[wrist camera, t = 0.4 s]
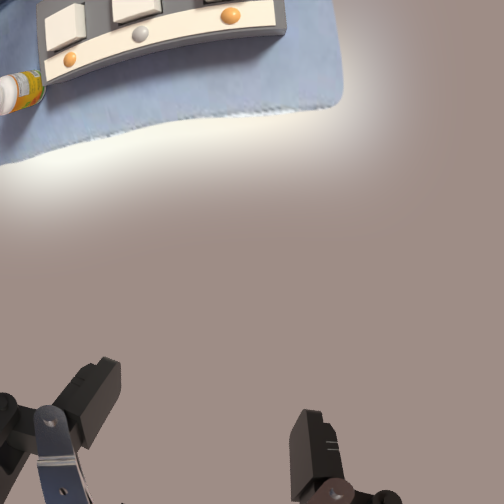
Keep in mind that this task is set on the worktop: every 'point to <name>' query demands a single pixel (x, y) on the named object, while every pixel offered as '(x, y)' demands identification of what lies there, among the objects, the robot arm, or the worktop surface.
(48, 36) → the far key
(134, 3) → the middle key
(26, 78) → the supplement bottle
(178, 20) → the button board
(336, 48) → the worktop surface
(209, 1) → the near key
